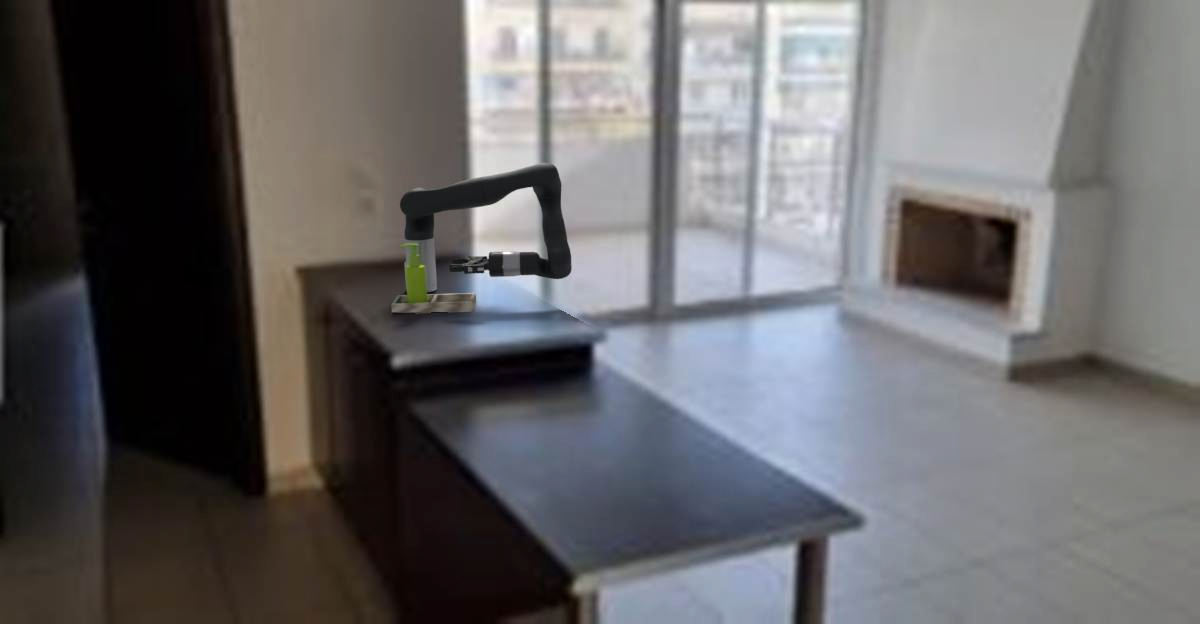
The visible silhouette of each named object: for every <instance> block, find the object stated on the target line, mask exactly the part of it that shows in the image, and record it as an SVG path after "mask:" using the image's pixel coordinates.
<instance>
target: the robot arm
mask: <svg viewBox="0 0 1200 624" xmlns="http://www.w3.org/2000/svg"><path fill="white" fill-rule="evenodd" d="M527 188H532V191H533V193H534V194H535V196H536V198H537V201H538V203H539V207H540V210H541V214H542V218H541V219H542V220H541V221H542V222H541V225H542V227H541V228H542V233H543V239H544V244H545V246H546V251H547V252H546V253H547V258H542V257H541V256H540V254H539V253H538V252H536V251H490V252H489V253H488V256H486V255H484V256H483V255H482V256H479V255H478V256H470V255H469V256H467V257H465V258H453V259H452V264H449V266H448V269H449V272H450V273H461V272H462V273H463V274H465V275H469V274H470V275H471V274H472V275H473V274H485V271H488V274H489V277H491V278H503V277H505V278H506V277H516V276H517V277H518V276H538V277H541V278H546V279H551V280H560V279H561V280H562V279H565V278H567V277H568V276H570V274H571V272H572V270H573V269H572V268H573V267H572V253H571V248H570V246H569V242H568V234H567V229H566V225H565V221H564V216H563V211H562V181H561V178H560V174H559V171H558V168H557V166H555V165H554V164H552V163H549V162H541V163H537V164H533V165H529V166H526V167H522V168H518V169H516V170H511V171H507V172H502V173H497V174H491V175H486V176H479V177H473V178H469V179H465V180H461V181H458V182H456V183H453V184H450V185H447V186H444V187H440V188H434V189H431V188H430V189H425V188H423V187H413V188H411V189H409V190H408V191H406V192H405V193H404V194H403V195H402V197H401V199H400V201H399V208H400V211H401V212H402V214H403V215H404V216H405V226H404V227H405V228H404V232H403V233H404V244H408V243H416V244H418V245H419V246H418V247H417V253H418V254H420V262H421V265H425V273H426V287H427V293H431V292H435V291H437V289H438V284H437V269H436V268H437V266H436V265H437V264H436V250H435V237H434V236H435V235H434V231H435V214H437V213H441V212H446V211H456V210H458V211H459V210H467V209H474V208H480V207H485V206H486V207H487V206H491V205H494V204H497V203H498V202H500V201H501V200H503V199H504V198H506V197H507V196H508V195H510V194H511V193H514V192H515V191H518V190H522V189H523V190H524V189H527ZM410 254H411V247H405V258H406V259H405V261H404V264H403V265H404V268H405V267H406V266H408V265H409V255H410ZM404 275H405V276H404V277H405V281H406V271H405V270H404ZM406 289H407V285H406V284H405V290H406Z"/></svg>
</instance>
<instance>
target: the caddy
mask: <svg viewBox="0 0 1200 624" xmlns="http://www.w3.org/2000/svg"><path fill="white" fill-rule="evenodd" d="M427 301H428V303H408V298H407V294H403V295H402V294H401V295H400V294H399V295H398V294H397V295H396V297H395V299H394V300H393V302H392V303H391V307H390V309H391V313H392V312H415V313H416V312H422V313H421V314H432V313H431V312H448V313H472V312H474V310H475V307H476V304H477V294H476V292H472V293H471V292H463V293H433V294H432V293H431V294H430V293H429V294H428V293H427ZM416 314H417V313H416Z"/></svg>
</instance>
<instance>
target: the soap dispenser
mask: <svg viewBox="0 0 1200 624" xmlns="http://www.w3.org/2000/svg"><path fill="white" fill-rule="evenodd" d="M418 246H419V245H418V244H416V243H408V244H405V243H404V244H401V245H399V247H400V249H401V248H406V247H411V254H410V255H409V265H408V266H406V267H405V266H404V272H405V271H406V280H405V286H406V285H407V290H406V295H407V298H408V303H428V301H427V294H428V292H427V287H426V273H425V265H421V262H420V254H418V253H417V247H418Z"/></svg>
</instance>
